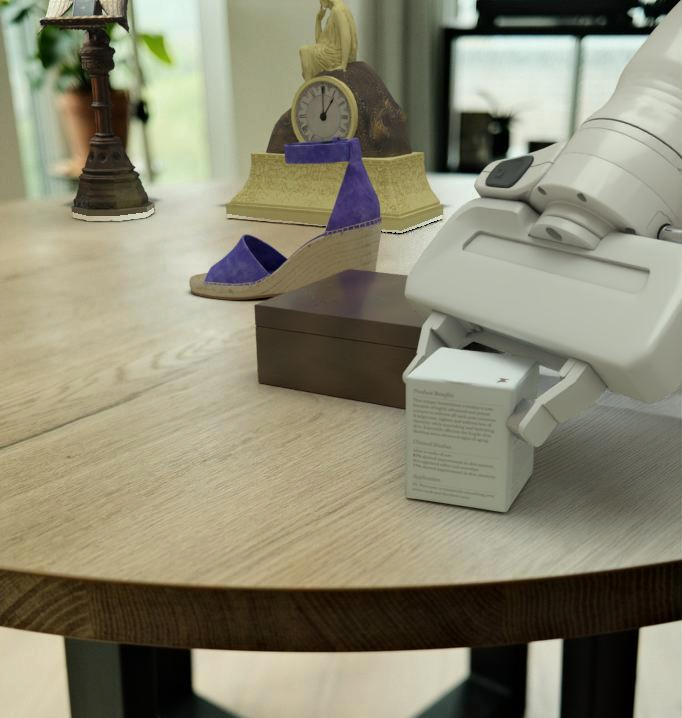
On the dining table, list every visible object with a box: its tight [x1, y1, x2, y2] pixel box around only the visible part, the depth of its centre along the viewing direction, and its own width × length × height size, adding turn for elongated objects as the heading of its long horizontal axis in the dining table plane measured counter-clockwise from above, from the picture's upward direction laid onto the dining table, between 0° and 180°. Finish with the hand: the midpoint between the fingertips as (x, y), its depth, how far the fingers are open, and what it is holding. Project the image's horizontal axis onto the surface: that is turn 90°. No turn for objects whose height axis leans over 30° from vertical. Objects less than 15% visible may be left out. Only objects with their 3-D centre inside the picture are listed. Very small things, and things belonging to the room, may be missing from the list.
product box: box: [404, 347, 541, 513], centre depth 57 cm, size 6×6×7 cm
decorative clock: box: [225, 0, 444, 231], centre depth 138 cm, size 28×13×30 cm, turn 60°
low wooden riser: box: [253, 269, 474, 410], centre depth 78 cm, size 16×14×6 cm
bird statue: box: [37, 0, 156, 216], centre depth 140 cm, size 17×13×35 cm
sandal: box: [188, 137, 382, 301], centre depth 100 cm, size 8×20×15 cm, turn 68°
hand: (463, 411), depth 57 cm, fingers closed on product box, 8 cm apart
